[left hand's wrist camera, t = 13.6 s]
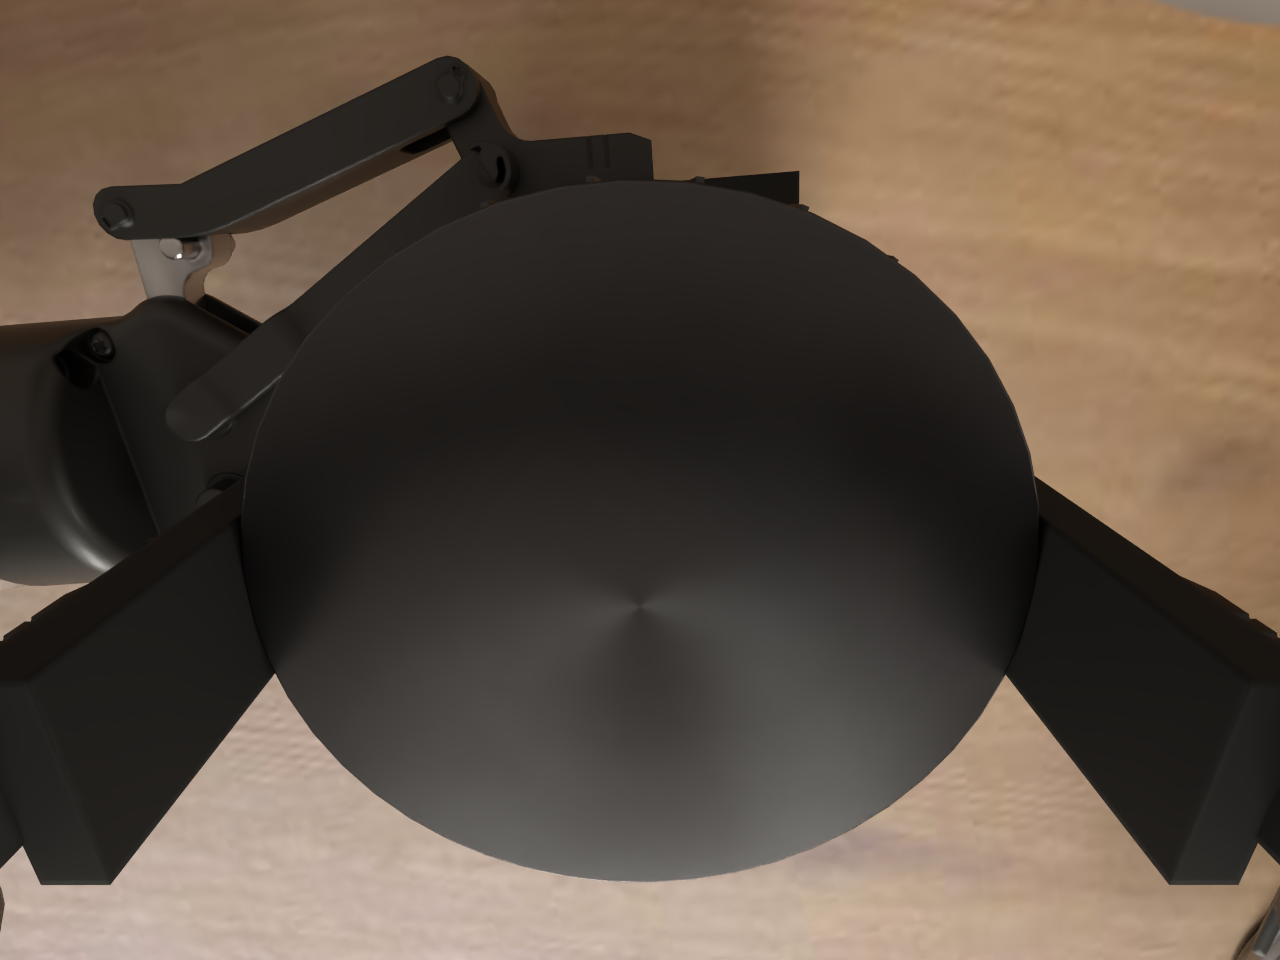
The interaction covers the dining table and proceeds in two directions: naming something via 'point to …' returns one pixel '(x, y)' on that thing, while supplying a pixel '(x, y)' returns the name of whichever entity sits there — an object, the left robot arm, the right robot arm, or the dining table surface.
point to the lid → (640, 530)
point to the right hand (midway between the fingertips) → (787, 401)
